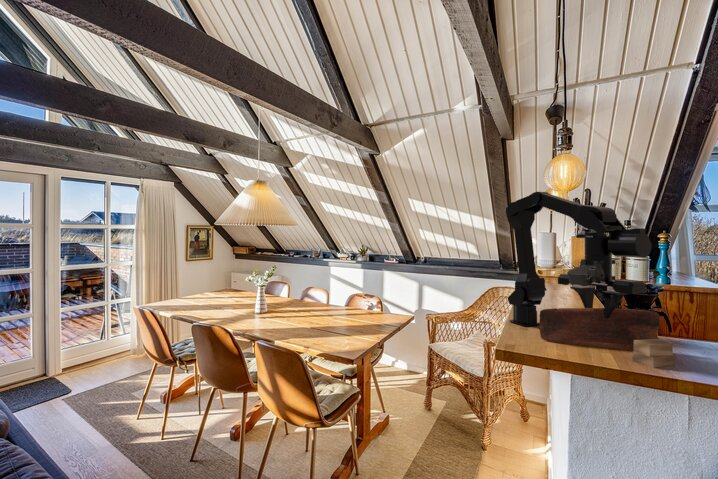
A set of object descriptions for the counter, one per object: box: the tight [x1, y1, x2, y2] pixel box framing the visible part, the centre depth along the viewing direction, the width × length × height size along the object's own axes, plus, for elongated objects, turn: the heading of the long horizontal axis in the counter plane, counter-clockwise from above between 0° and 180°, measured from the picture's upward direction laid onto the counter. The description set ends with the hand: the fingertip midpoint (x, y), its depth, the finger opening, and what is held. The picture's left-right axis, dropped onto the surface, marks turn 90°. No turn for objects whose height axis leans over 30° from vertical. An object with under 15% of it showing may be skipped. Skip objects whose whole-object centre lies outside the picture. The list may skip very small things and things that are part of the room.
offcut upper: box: [633, 339, 674, 357], centre depth 73 cm, size 4×6×2 cm, turn 99°
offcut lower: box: [632, 350, 676, 369], centre depth 73 cm, size 4×7×2 cm, turn 108°
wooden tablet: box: [538, 307, 661, 351], centre depth 85 cm, size 26×2×10 cm, turn 72°
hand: (597, 316), depth 84 cm, fingers open, 4 cm apart
